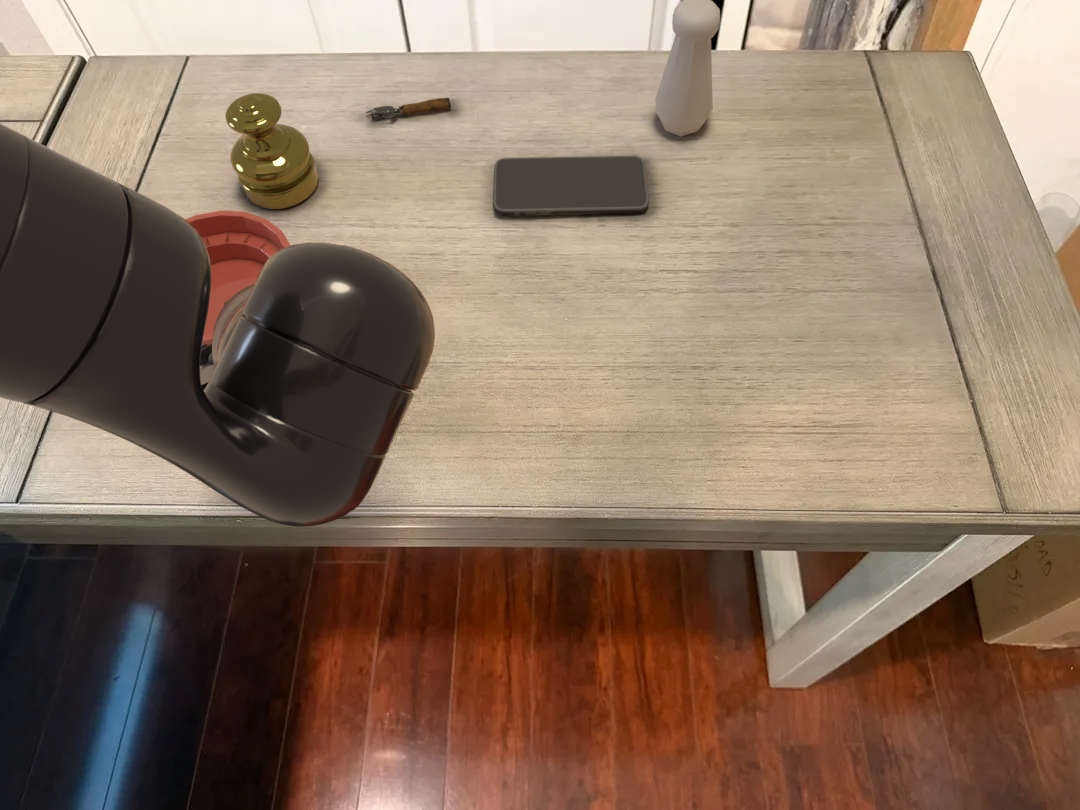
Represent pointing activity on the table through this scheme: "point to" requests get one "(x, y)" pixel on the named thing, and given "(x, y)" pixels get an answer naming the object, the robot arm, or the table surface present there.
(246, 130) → the brass weight
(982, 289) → the table surface
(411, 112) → the can opener
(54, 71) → the table surface
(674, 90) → the salt shaker
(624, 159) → the smartphone
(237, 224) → the bowl
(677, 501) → the table surface
